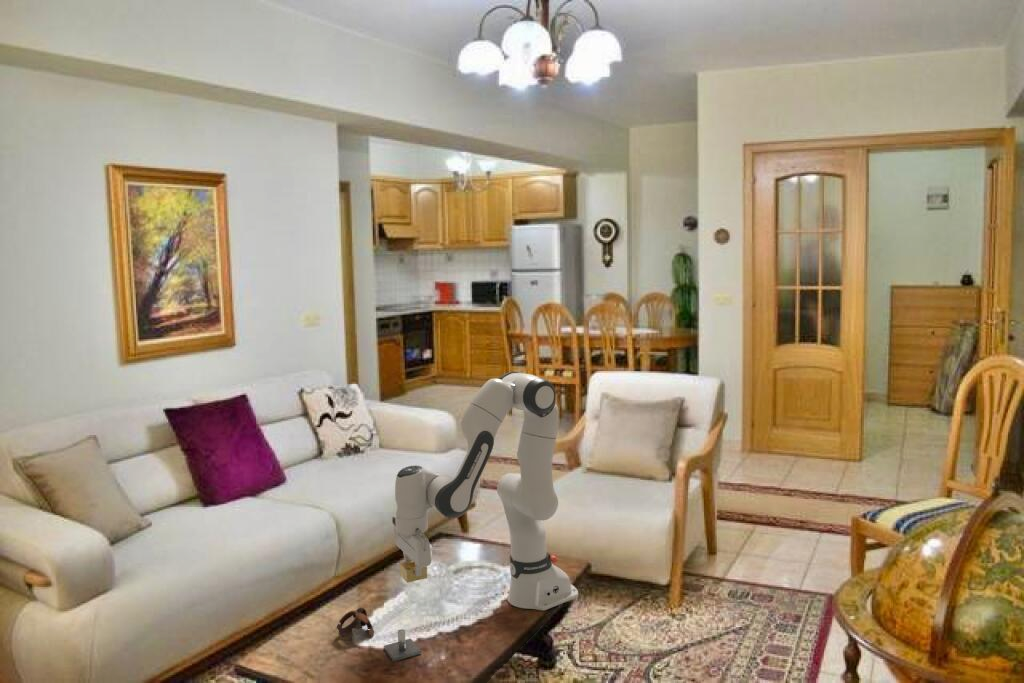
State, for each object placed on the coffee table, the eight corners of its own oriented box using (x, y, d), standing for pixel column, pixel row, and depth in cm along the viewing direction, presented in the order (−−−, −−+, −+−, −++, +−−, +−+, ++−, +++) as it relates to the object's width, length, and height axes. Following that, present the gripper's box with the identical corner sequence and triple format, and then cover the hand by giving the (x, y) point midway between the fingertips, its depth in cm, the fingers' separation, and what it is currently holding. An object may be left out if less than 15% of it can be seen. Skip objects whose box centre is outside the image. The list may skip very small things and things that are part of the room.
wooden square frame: (419, 570, 238) (419, 559, 237) (427, 578, 233) (426, 566, 232) (399, 574, 235) (399, 563, 235) (407, 582, 230) (406, 570, 229)
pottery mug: (373, 644, 234) (357, 624, 231) (346, 656, 236) (329, 636, 233) (381, 615, 245) (365, 595, 242) (354, 627, 247) (339, 607, 244)
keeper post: (410, 641, 234) (409, 621, 233) (421, 654, 227) (420, 633, 226) (383, 649, 230) (382, 628, 229) (393, 661, 223) (392, 641, 222)
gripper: (435, 533, 224) (437, 581, 226) (410, 511, 242) (411, 556, 244) (414, 537, 221) (415, 586, 223) (389, 515, 239) (391, 560, 241)
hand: (413, 570), depth 234 cm, fingers closed on wooden square frame, 6 cm apart
